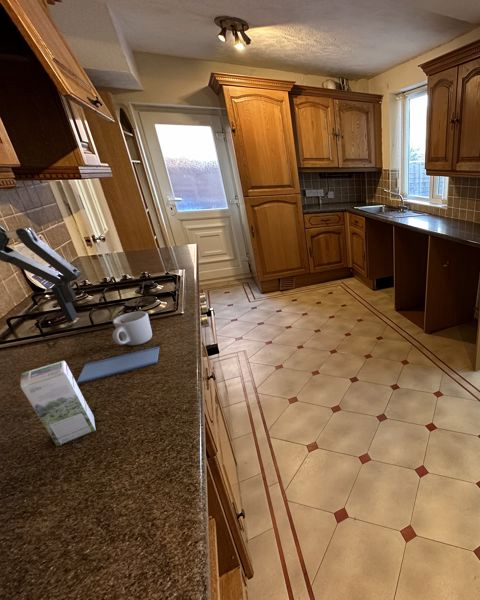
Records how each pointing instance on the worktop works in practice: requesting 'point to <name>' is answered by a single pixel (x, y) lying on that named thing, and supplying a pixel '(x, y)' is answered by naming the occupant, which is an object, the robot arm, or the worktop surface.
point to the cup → (132, 328)
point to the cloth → (118, 364)
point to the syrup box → (58, 402)
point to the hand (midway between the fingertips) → (19, 329)
